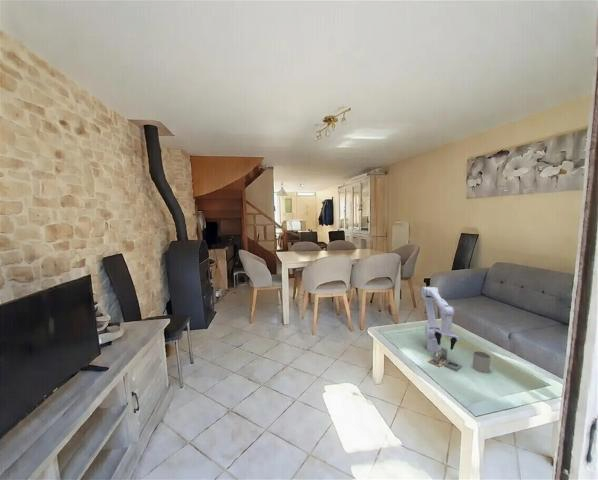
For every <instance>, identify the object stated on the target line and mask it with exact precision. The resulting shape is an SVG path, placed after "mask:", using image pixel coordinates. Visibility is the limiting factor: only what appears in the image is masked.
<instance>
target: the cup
mask: <svg viewBox="0 0 598 480" xmlns="http://www.w3.org/2000/svg"><path fill="white" fill-rule="evenodd" d="M472 354H473V355H472V369H474V370H475V371H476V372H479V373H482V374H488V373H490V368H491V367H490V366H491V355H489V354H488V353H486V352H484V351H479V350H476V351H473V353H472Z"/></svg>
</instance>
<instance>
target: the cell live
mask: <svg viewBox="0 0 598 480" xmlns="http://www.w3.org/2000/svg"><path fill="white" fill-rule="evenodd" d="M432 358H433V361H432V362H433V363H435V364H438V365H440V362H441V360H440V359H441V353H438V352H433V357H432Z"/></svg>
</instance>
